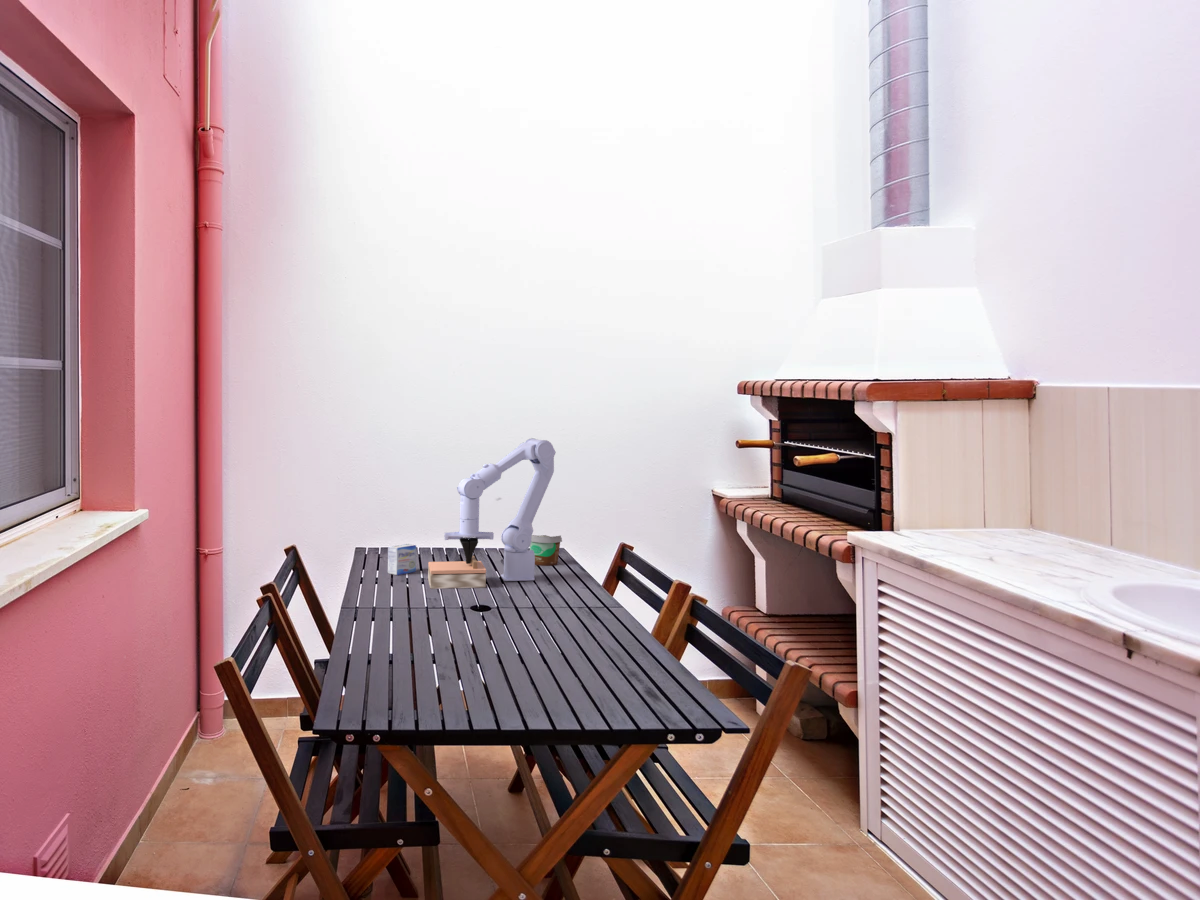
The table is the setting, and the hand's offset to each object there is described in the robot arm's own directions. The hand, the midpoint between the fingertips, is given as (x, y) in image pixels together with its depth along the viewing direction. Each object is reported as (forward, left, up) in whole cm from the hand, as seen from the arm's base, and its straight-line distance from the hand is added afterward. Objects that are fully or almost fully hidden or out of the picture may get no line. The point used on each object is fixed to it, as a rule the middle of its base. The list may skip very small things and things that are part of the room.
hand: (468, 563), depth 264 cm
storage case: (+3, 0, -6) cm, 7 cm away
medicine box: (+19, -17, -6) cm, 26 cm away
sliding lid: (+3, 0, -2) cm, 4 cm away
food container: (-27, -26, -6) cm, 38 cm away
